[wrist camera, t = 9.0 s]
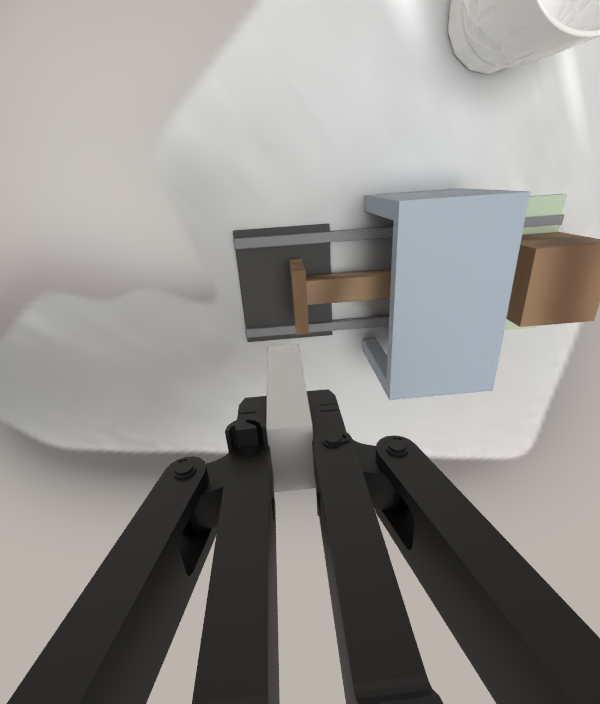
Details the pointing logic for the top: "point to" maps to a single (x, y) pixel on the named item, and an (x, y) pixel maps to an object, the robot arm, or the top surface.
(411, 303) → the tunnel
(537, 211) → the mat
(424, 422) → the top surface
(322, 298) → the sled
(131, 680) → the robot arm
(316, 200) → the top surface
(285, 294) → the dark grey flat plate
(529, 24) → the white cup
